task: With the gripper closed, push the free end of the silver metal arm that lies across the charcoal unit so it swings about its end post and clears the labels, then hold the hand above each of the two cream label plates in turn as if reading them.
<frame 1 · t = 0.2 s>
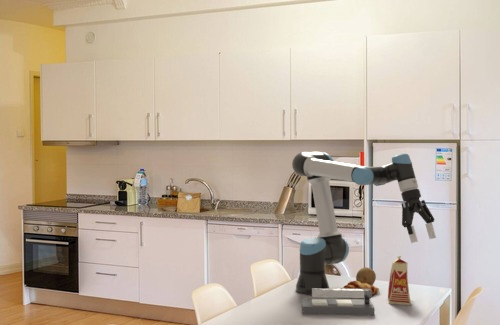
hand: (423, 240, 230), 28 cm above the table, tool tilted 20°, fingers open, 13 cm apart
natural sponge: (365, 289, 262), on the table
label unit: (336, 310, 226), on the table
milk carton: (399, 301, 240), on the table
swing arm: (341, 293, 226), point 7 cm above the table, hinge at 0.0°
croissant: (358, 296, 250), on the table
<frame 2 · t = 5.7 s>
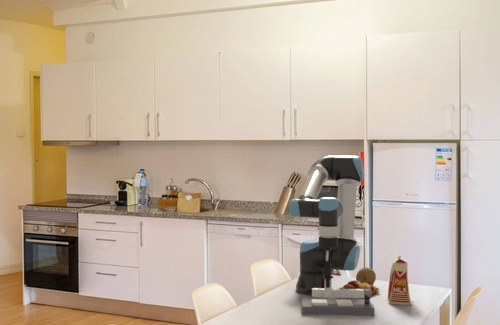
hand: (327, 294, 225), 7 cm above the table, tool pointing down, fingers closed
swing arm: (341, 293, 226), point 7 cm above the table, hinge at -0.8°, touching gripper
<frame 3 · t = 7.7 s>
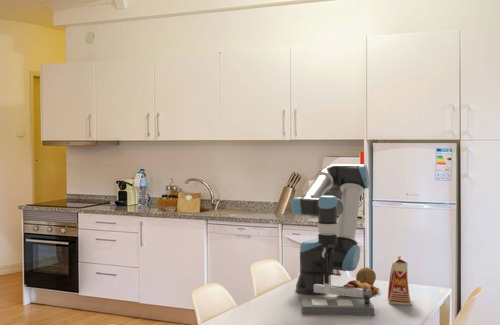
hand: (327, 290, 230), 7 cm above the table, tool pointing down, fingers closed
swing arm: (342, 290, 230), point 7 cm above the table, hinge at -20.7°, touching gripper
everything else where it was.
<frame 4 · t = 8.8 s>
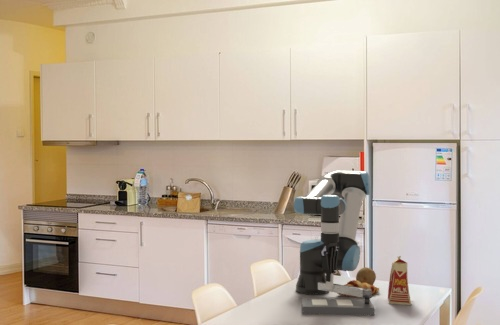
hand: (329, 288, 234), 7 cm above the table, tool pointing down, fingers closed
swing arm: (344, 289, 232), point 7 cm above the table, hinge at -33.9°, touching gripper
everything else where it was.
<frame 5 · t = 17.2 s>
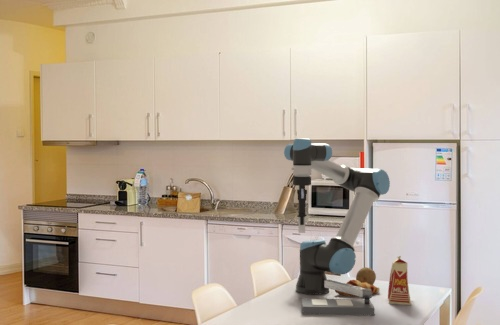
hand: (301, 232, 233), 30 cm above the table, tool pointing down, fingers closed
swing arm: (347, 288, 233), point 7 cm above the table, hinge at -47.4°
at the end: swing arm at -47° (first picture: +0°) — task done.
